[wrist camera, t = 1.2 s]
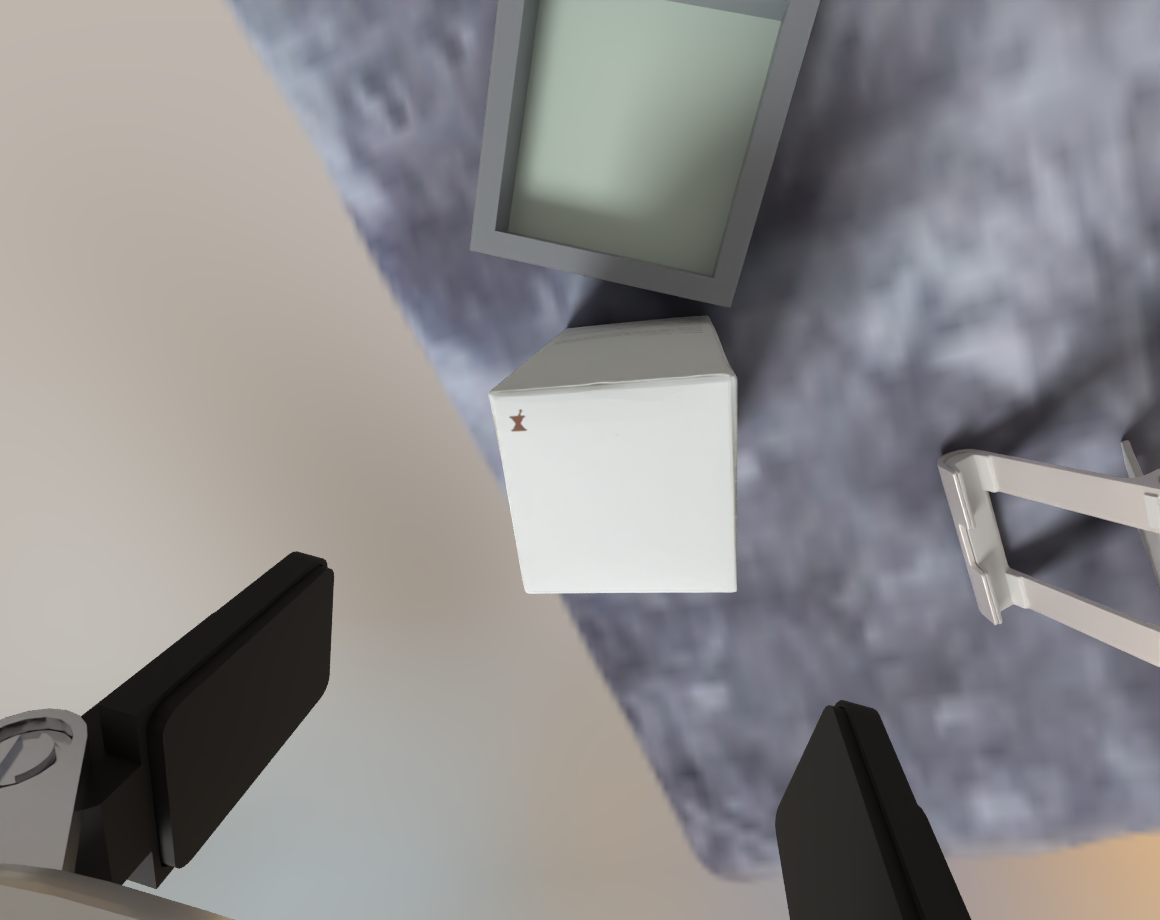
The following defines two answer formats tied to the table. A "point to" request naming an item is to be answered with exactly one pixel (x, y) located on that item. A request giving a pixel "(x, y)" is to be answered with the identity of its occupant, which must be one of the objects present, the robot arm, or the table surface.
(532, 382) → the supplement box
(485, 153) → the tray
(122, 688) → the robot arm
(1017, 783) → the table surface
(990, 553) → the portable electronic device stand
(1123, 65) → the table surface
